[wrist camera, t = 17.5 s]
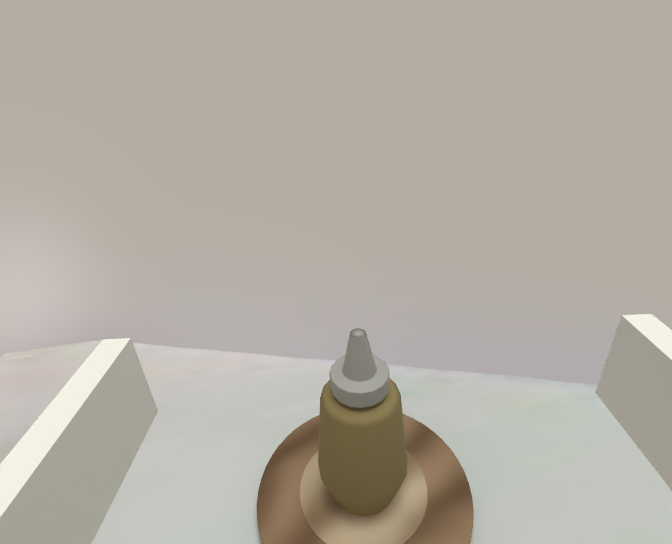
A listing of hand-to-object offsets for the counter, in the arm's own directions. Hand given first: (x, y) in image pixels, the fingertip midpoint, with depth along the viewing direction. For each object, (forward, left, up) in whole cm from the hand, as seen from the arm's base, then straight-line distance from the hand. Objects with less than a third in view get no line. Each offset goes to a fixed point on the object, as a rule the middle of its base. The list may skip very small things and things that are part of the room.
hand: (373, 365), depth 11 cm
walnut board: (+11, -11, -30) cm, 34 cm away
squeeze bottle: (+11, -11, -28) cm, 32 cm away
